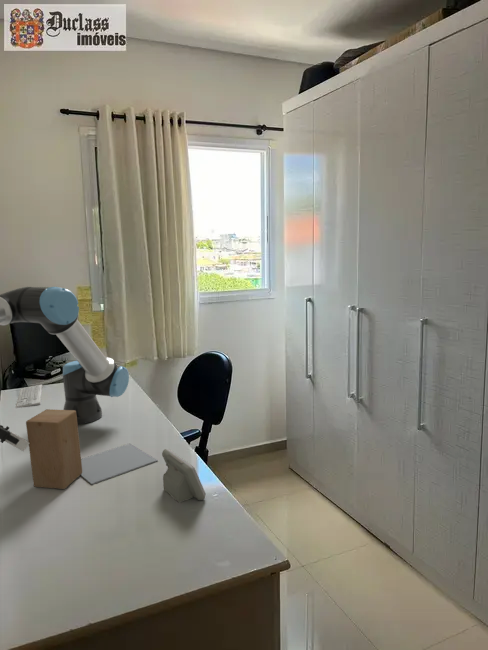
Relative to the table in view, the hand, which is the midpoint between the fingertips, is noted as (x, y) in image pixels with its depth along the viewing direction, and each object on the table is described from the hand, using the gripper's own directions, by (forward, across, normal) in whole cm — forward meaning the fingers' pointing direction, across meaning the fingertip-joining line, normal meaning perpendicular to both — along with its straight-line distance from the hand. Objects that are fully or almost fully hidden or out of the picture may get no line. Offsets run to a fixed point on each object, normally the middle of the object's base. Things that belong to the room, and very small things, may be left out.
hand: (25, 446), depth 136 cm
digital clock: (+32, +30, +13) cm, 46 cm away
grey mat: (+27, 0, +8) cm, 28 cm away
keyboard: (+30, -90, +10) cm, 95 cm away
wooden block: (+15, 0, -4) cm, 16 cm away
